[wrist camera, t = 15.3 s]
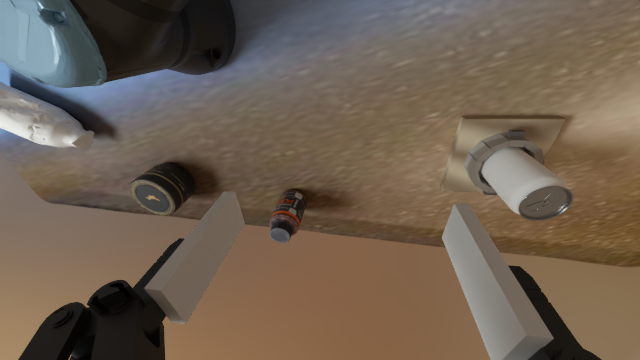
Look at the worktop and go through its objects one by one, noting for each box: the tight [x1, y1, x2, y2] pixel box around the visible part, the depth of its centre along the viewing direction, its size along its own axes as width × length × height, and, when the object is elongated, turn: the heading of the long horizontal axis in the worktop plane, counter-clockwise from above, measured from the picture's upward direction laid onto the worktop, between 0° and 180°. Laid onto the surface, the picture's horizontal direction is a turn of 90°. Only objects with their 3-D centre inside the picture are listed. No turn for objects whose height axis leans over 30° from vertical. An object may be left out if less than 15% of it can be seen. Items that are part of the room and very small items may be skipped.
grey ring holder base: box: [440, 116, 566, 195], centre depth 38 cm, size 14×14×4 cm
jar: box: [130, 163, 194, 216], centre depth 50 cm, size 10×10×8 cm
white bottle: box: [0, 82, 94, 150], centre depth 45 cm, size 8×19×8 cm, turn 65°
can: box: [479, 147, 573, 221], centre depth 34 cm, size 6×6×12 cm
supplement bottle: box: [270, 189, 307, 243], centre depth 47 cm, size 6×6×11 cm
